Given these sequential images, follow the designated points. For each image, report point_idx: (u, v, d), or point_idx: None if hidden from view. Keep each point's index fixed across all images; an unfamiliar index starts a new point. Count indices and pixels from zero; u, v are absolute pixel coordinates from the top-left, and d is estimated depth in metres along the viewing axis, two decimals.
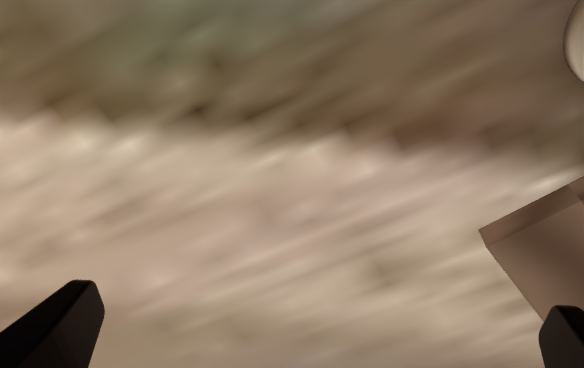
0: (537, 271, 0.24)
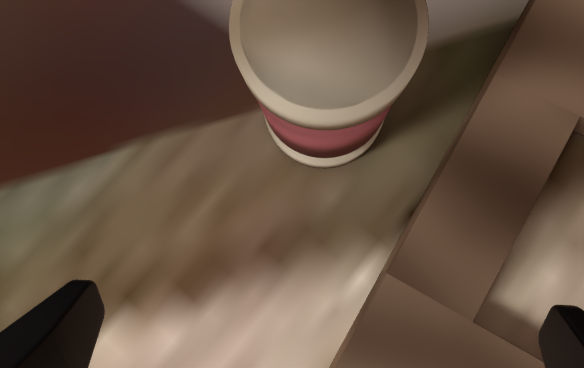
0: None
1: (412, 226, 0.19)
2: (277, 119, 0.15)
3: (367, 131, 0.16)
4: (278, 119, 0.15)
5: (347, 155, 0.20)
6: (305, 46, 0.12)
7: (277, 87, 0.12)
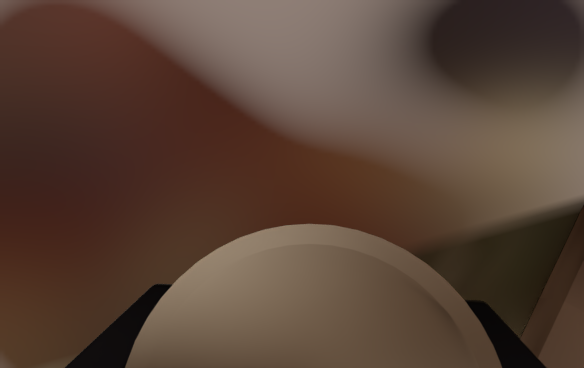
0: None
1: None
2: None
3: None
4: None
5: None
6: None
7: None
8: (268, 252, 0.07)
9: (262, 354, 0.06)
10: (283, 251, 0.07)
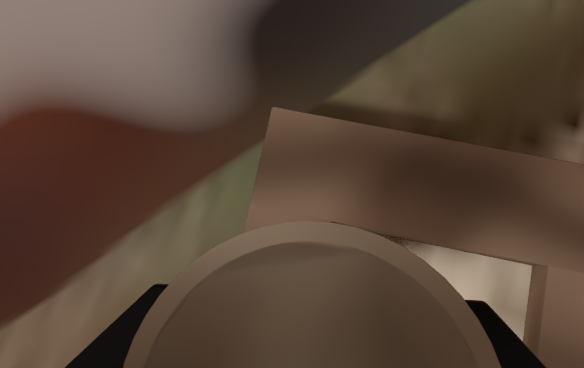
0: None
1: None
2: None
3: None
4: None
5: None
6: None
7: None
8: (267, 250, 0.07)
9: (262, 351, 0.06)
10: (281, 249, 0.07)
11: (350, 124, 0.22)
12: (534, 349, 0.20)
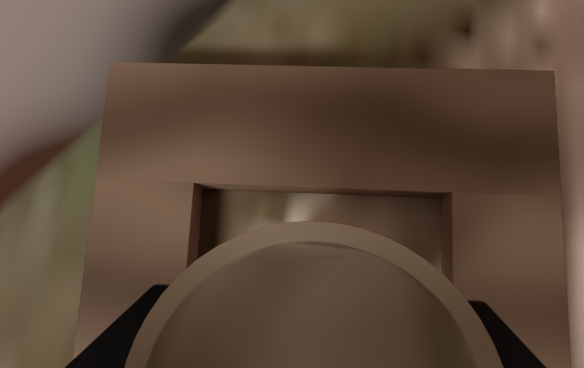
0: None
1: None
2: None
3: None
4: None
5: None
6: None
7: None
8: (268, 249, 0.07)
9: (262, 351, 0.06)
10: (283, 248, 0.07)
11: (203, 67, 0.18)
12: None
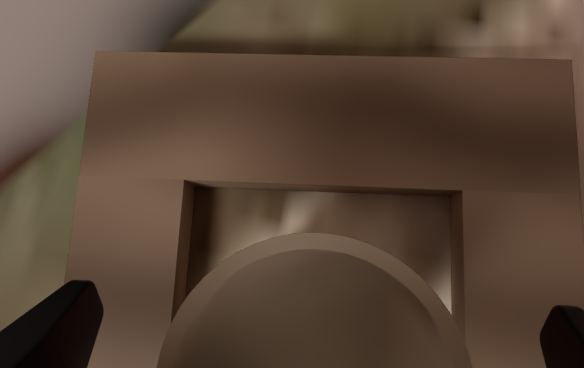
0: None
1: None
2: None
3: None
4: None
5: None
6: None
7: None
8: (277, 256, 0.08)
9: (273, 339, 0.08)
10: (289, 255, 0.08)
11: (195, 56, 0.17)
12: (460, 299, 0.15)
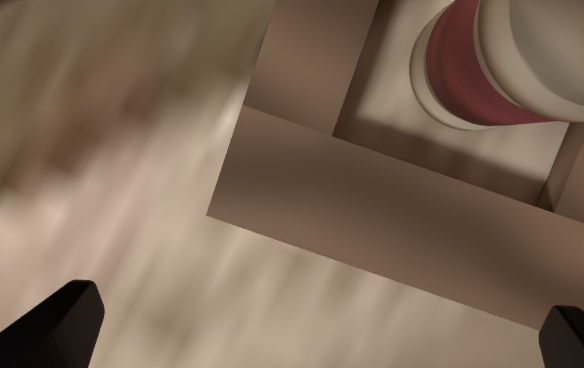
0: (285, 209, 0.19)
1: (260, 52, 0.18)
2: (482, 83, 0.13)
3: None
4: (483, 84, 0.13)
5: None
6: (578, 25, 0.11)
7: (532, 62, 0.11)
8: None
9: None
10: None
11: None
12: None
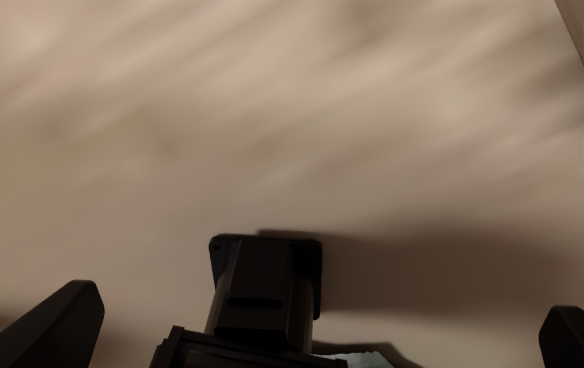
0: None
1: None
2: None
3: None
4: None
5: None
6: None
7: None
8: None
9: None
10: None
11: None
12: None
